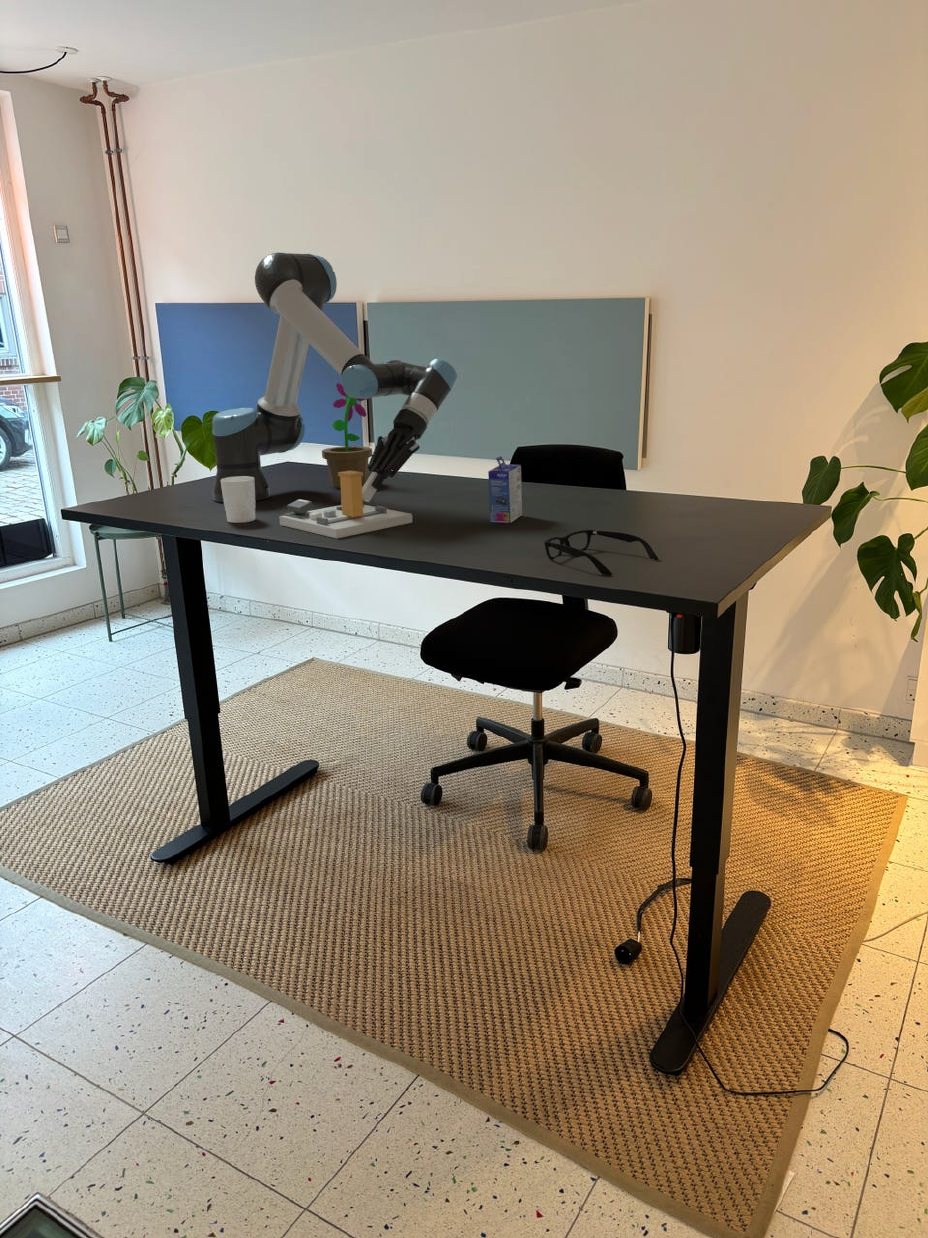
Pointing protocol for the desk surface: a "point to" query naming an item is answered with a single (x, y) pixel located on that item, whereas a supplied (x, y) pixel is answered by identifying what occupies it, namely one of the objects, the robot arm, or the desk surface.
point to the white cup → (239, 498)
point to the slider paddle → (351, 493)
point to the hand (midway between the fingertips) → (363, 498)
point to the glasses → (579, 553)
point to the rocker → (300, 506)
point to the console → (344, 520)
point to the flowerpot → (348, 455)
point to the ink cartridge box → (505, 492)
